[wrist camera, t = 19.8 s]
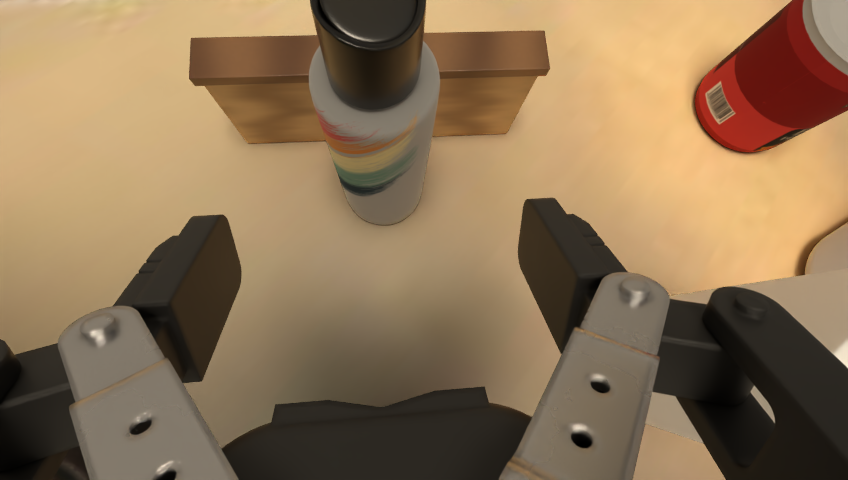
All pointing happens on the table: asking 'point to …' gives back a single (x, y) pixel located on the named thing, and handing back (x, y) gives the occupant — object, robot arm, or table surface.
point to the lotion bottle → (375, 101)
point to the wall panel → (292, 103)
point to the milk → (806, 301)
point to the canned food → (779, 78)
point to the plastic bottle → (829, 252)
